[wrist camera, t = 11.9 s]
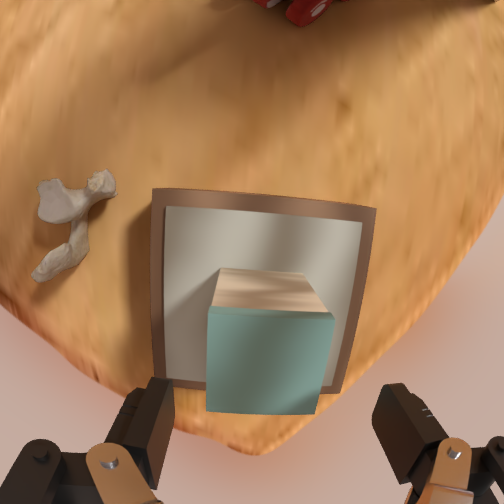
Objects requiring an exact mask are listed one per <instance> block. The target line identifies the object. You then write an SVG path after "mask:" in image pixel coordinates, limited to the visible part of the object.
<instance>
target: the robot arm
mask: <svg viewBox="0 0 504 504" xmlns="http://www.w3.org/2000/svg"><path fill="white" fill-rule="evenodd" d="M494 1H496V2H497V1H499V0H494ZM174 419H175V406H174V393H173V381H172V379H165V378H158V377H151V379H150V381H149V383H148V385H147V388H146V389H143V388H136V389H135V390H133V391H132V392H131V393H129V394H128V395H127V397H126V399H125V401H124V403H123V406H122V407H121V409H120V411H119V414H118V415H117V417H116V419H115V421H114V423H113V425H112V427H111V429H110V431H109V433H108V435H107V437H106V439H105V442H104V443H101V444H98V445H95V446H94V447H92V448H91V449H90V450H89V451H88V452H87V453H68V452H61V451H60V449H59V447H58V446H57V445H56V444H55V443H53V442H52V441H49V440H46V439H36V440H32V441H30V442H29V443H27V444H26V445H25V446H24V447H23V449H22V451H21V452H20V454H19V456H18V457H17V459H16V461H15V462H14V464H13V466H12V467H11V469H10V471H9V473H8V474H7V476H6V478H5V480H4V482H3V484H2V485H1V487H0V504H164V503H163V502H162V501H160V500H157V498H156V497H155V495H154V494H153V492H152V491H151V489H153V490H157V486H158V482H159V478H160V474H161V470H162V467H163V463H164V459H165V455H166V451H167V447H168V444H169V440H170V436H171V432H172V429H173V425H174ZM372 426H373V429H374V431H375V433H376V435H377V437H378V439H379V441H380V443H381V446H382V448H383V450H384V452H385V454H386V456H387V458H388V461H389V463H390V465H391V467H392V469H393V471H394V473H395V476H396V478H397V480H398V482H399V484H400V485H401V484H404V483H408V482H411V483H412V485H413V486H412V487H411V488H410V490H409V492H408V495H407V498H406V500H405V503H404V504H499V503H498V501H497V499H496V497H495V496H494V494H493V492H492V490H491V489H490V486H491V485H492V484H493V483H494V481H496V482H497V484H498V486H499V487H500V489H501V491H502V492H503V494H504V437H502V436H497V437H493V438H492V439H491V440H490V441H489V442H488V444H487V445H486V447H482V448H481V447H480V448H470V446H469V445H468V444H467V443H466V442H465V441H463V440H461V439H459V438H449V436H448V435H447V434H446V432H445V431H444V429H443V428H442V426H441V425H440V424H439V422H438V421H437V419H436V418H435V417H434V416H433V414H432V413H431V411H430V410H428V407H427V406H426V404H425V403H424V402H423V400H422V399H420V398H419V397H417V396H416V395H415V394H413V393H412V394H411V393H410V392H409V391H408V389H407V388H406V386H405V385H404V384H403V383H396V384H386V385H384V386H383V387H382V389H381V392H380V395H379V397H378V400H377V403H376V406H375V408H374V411H373V414H372Z"/></svg>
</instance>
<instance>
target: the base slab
mask: <svg viewBox="0 0 504 504" xmlns="http://www.w3.org/2000/svg"><path fill="white" fill-rule="evenodd" d="M376 209H377V208H372V207H367V206H362V205H356V204H349V203H341V202H333V201H324V200H316V199H307V198H297V197H287V196H277V195H266V194H254V193H242V192H229V191H214V190H198V189H180V188H155V189H153V190H152V209H151V236H150V303H151V331H152V349H153V364H154V377H158V378H165V379H172V381H173V387H180V388H188V389H198V390H206V369H207V327H208V311H209V307H210V306H211V305H212V301H213V297H214V293H215V289H216V285H217V281H218V277H219V273H220V269H221V268H234V269H248V270H262V271H277V272H292V273H303V275H304V276H305V277H306V279H307V280H308V282H309V283H310V285H311V286H312V288H313V289H314V291H315V292H316V294H317V295H318V297H319V298H320V300H321V301H322V303H323V304H324V306H325V307H326V309H327V310H328V312H331V313H332V315H333V316H334V318H335V319H336V321H335V327H334V332H333V337H332V342H331V346H330V351H329V356H328V360H327V365H326V369H325V374H324V378H323V382H322V386H321V390H320V394H337V393H340V391H341V387H342V384H343V380H344V377H345V373H346V369H347V365H348V361H349V357H350V353H351V349H352V345H353V341H354V337H355V332H356V328H357V323H358V319H359V314H360V309H361V304H362V299H363V294H364V289H365V283H366V278H367V272H368V266H369V260H370V254H371V247H372V240H373V233H374V225H375V217H376Z"/></svg>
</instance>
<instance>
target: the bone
mask: <svg viewBox="0 0 504 504" xmlns="http://www.w3.org/2000/svg"><path fill="white" fill-rule="evenodd" d="M37 190H38V192H39V195H40V198H41V199H40V205H39V208H38V213H37V214H38V216H39V218H40V219H41V220H43V221H45V222H48V223H52V224H61V223H67V222H72V223H71V233H70V237H69V241H68V243H63V244H62V245H61V246H59V247H58V248H56V249H54V250H51V251H50V252H49V253H48V254H47V255H46V256H45V257H44V258H43V260H42V261H41V263H40V264H39V265H38V266H37V267H36V268H35V270H34V271H33V272H32V274H31V277H32V278H33V279H34V280H35V281H36V282H40V283H41V282H45V281H48V280H51V279H52V278H53V277H55V276H56V275H57V274H58V273H60V272H62V271H63V270H66V269H69V268H72V267H74V266H76V265H78V264H79V263H80V261H81V260H82V259H83V258H84V257H85V256H86V254H87V253H88V252H89V242H88V218H87V216H88V211H89V209H90V208H91V206H92V205H93V204H95V203H96V202H98V201H100V200H102V199H105V198H113V197H115V196H116V195H117V192H115V191H116V181H115V179H114V177H113V175H112V173H111V172H109V170H108V169H105V170H104V171H99V172H98V171H95V172H94V174H93V176H92V177H91V178H87V187H85V188H82V189H76V190H73V189H69V188H66V187H65V186H64V185H63V183H62V181H61V180H60V179H58V178H54V179H51V180H43V181H40V182H39V186H38V187H37Z"/></svg>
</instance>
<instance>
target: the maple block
mask: <svg viewBox="0 0 504 504" xmlns="http://www.w3.org/2000/svg"><path fill="white" fill-rule="evenodd" d="M335 321H336V319H335V318H334V316H333V315H332V313H331V312H328V310H327V309H326V307H325V306H324V304H323V303H322V301H321V300H320V298H319V297H318V295H317V294H316V292H315V291H314V289H313V288H312V286H311V285H310V283H309V282H308V280H307V279H306V277H305V276H304V275H303V273H292V272H277V271H262V270H248V269H234V268H221V269H220V273H219V277H218V281H217V285H216V289H215V293H214V297H213V301H212V305H211V306H210V307H209V311H208V327H207V369H206V411H209V412H221V413H237V414H261V415H306V414H315V410H316V406H317V402H318V398H319V394H320V390H321V386H322V382H323V378H324V374H325V369H326V365H327V360H328V356H329V351H330V346H331V342H332V337H333V332H334V327H335Z"/></svg>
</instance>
